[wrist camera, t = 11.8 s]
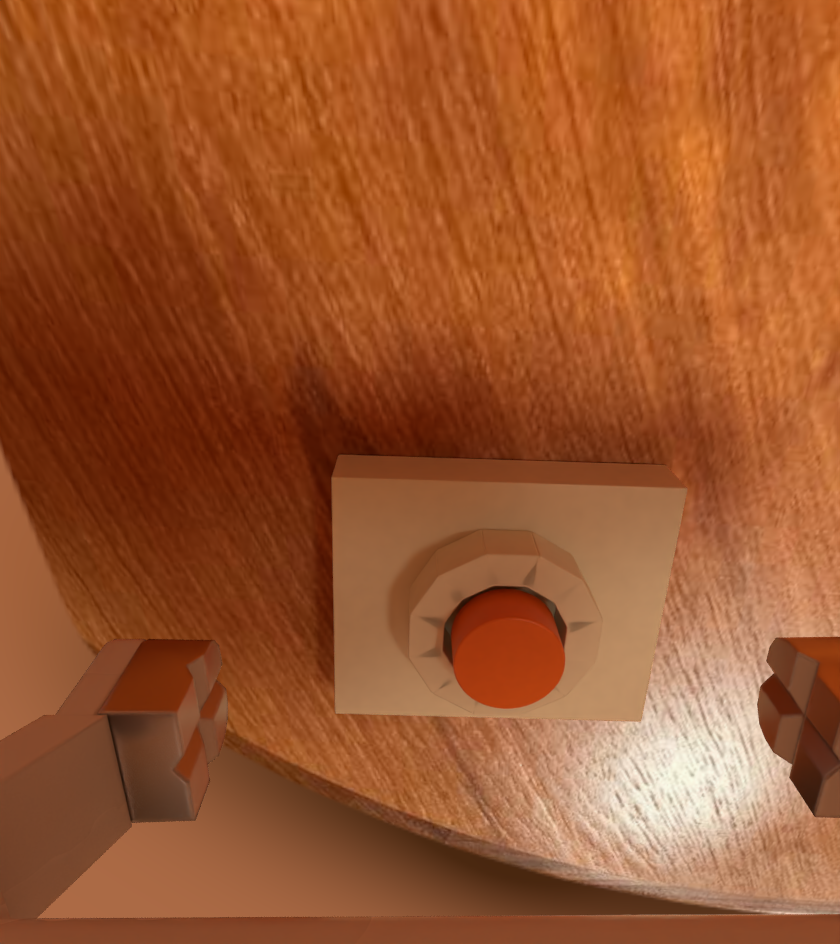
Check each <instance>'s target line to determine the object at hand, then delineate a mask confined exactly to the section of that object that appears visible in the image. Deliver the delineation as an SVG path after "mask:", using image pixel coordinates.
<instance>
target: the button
mask: <svg viewBox="0 0 840 944" xmlns="http://www.w3.org/2000/svg"><path fill="white" fill-rule="evenodd" d="M451 644H452V658H453V670H454V675H455V677H456V680H457V682H458V684H459V685H460V687H461V688H462V690H463V691H464V692H465V693H466V694H467V695H468V696H470V697H471V698H472V699H474V700H475V701H477V702H479V703H481V704H483V705H486V706H490V707H494V708H501V709H513V708H520V707H524V706H527V705H530V704H533V703H535V702H537V701H539V700H541V699H542V698H544V697H545V696H547V695H548V694H549V693H550V692H551V691H552V690H553V689H554V688H555V687H556V685H557V684H558V683H559V681H560V679H561V677H562V674H563V672H564V668H565V652H564V648H563V645H562V642H561V639H560V635H559V632H558V629H557V626H556V623H555V620H554V617H553V615H552V613H551V611H550V610H549V608H548V607H547V606H546V605H545V604H544V603H543V602H542V601H541V600H540V599H538V598H537V597H535V596H533V595H531V594H529V593H527V592H524V591H521V590H516V589H496V590H491V591H487V592H484V593H482V594H480V595H478V596H476V597H474V598H472V599H471V600H470V601H468V602H467V603H466V604H465V605H464V606H463V607H462V608H461V609H460V611H459V612H458V614H457V615H456V617H455V619H454V621H453V625H452V629H451Z"/></svg>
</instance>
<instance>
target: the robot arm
mask: <svg viewBox="0 0 840 944" xmlns="http://www.w3.org/2000/svg"><path fill="white" fill-rule="evenodd" d="M766 661H767V663H768V664H769V666H770V668H771V669H772V671H773V672H774V674H773V675H772V676H771V677H770V678H768V679H767V680H766V681H765V682H764V683H763V684H762V685H761V687H760V692H759V698H758V703H757V707H758V715H759V724H760V727H761V729H762V732H763V735H764V737H765V739H766V741H767V743H768V744H769V746H770V748H771V749H772V751H773V752H774V753H775V754H777V755H778V756H780V757H781V758H783V759H784V760H786V761H788V762H789V763H791V764H792V769H791V773H790V777H789V778H790V779H791V781H792V782H793V784H794V785H795V787H796V788H797V790H798V791H799V793H800V795H801V796H802V798H803V799H804V801H805V802H806V804H807V805H808V807H809V808H810V810H811V812H812V813H813V815H814V816H815V817H829V818H840V637H790V638H775V640H774V641H773V643H772V644H771V646H770V648H769V652H768V656H767V660H766ZM221 666H222V659H221V654H220V648H219V645H218V644H217V642H216V641H215V640H178V639H148V640H145V639H114V640H111V641H109V642H107V643H106V644H105V645H104V647H103V648H102V649H101V651H100V652H99V654H98V655H97V656H96V658H95V659H94V661H93V662H92V664H91V665H90V666H89V668H88V669H87V671H86V672H85V674H84V675H83V676H82V678H81V679H80V681H79V682H78V683H77V685H76V686H75V688H74V689H73V690H72V692H71V693H70V695H69V696H68V697H67V699H66V700H65V702H64V703H63V705H62V706H61V707H60V709H59V710H58V712H57V713H56V714H55V715H44V716H42V717H40V718H38V719H37V720H35V721H33V722H31V723H30V724H28V725H26V726H25V727H23V728H21V729H19V730H18V731H16V732H14V733H12V734H11V735H9V736H7V737H6V738H4V739H2V740H1V741H0V944H840V914H780V915H584V916H583V915H572V916H571V915H569V916H417V917H416V916H406V917H405V916H403V917H236V918H235V917H232V918H231V917H230V918H229V917H222V918H221V917H220V918H50V919H49V918H42V919H41V918H39V919H37V917H38V916H39V915H40V914H42V913H43V912H44V911H45V910H46V909H47V908H48V907H49V906H50V905H51V904H52V903H53V902H54V901H55V900H56V899H57V898H58V897H59V896H60V895H61V894H62V893H63V892H64V891H65V890H66V889H67V888H68V887H69V886H70V885H72V884H73V883H74V882H75V881H76V880H77V879H78V878H79V877H80V876H81V875H82V874H83V873H84V872H85V871H86V870H87V869H88V868H89V867H90V866H91V865H92V864H93V863H94V862H95V861H96V860H97V859H98V858H100V857H101V856H102V855H103V853H105V852H106V850H108V849H109V848H110V847H111V846H112V845H113V844H114V843H115V842H116V841H117V840H118V839H119V838H120V837H121V836H122V835H123V834H124V833H125V832H127V830H128V829H130V828H131V826H132V824H131V823H135V822H136V823H137V822H165V821H195V820H196V817H197V815H198V812H199V810H200V807H201V804H202V801H203V799H204V796H205V793H206V790H207V787H208V785H209V782H210V777H209V770H208V764H209V763H210V762H211V761H213V760H214V759H215V758H216V757H218V756H219V754H220V751H221V748H222V745H223V742H224V739H225V733H226V726H227V720H228V702H227V694H226V688H225V687H224V686H223V685H222V684H221V683H220V682H219V681H218V680H217V679H216V678H217V676H218V673H219V671H220V669H221Z"/></svg>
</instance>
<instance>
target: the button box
mask: <svg viewBox="0 0 840 944" xmlns="http://www.w3.org/2000/svg"><path fill="white" fill-rule="evenodd" d="M331 491H332V555H333V618H334V681H335V713H336V714H373V715H411V716H449V717H487V718H526V719H564V720H602V721H641V719H642V714H643V709H644V704H645V699H646V694H647V689H648V684H649V679H650V674H651V669H652V664H653V659H654V654H655V649H656V644H657V639H658V634H659V629H660V624H661V619H662V614H663V609H664V604H665V599H666V594H667V589H668V584H669V579H670V574H671V569H672V564H673V559H674V554H675V549H676V544H677V539H678V534H679V529H680V524H681V519H682V514H683V509H684V504H685V499H686V494H687V487H686V486H685V485H684V484H683V483H682V482H681V481H680V480H679V479H678V478H677V476H676V475H675V474H674V473H673V472H672V471H671V470H670V469H669V468H668V467H667V466H666V465H654V464H622V463H591V462H560V461H528V460H497V459H465V458H434V457H403V456H371V455H338V458H337V461H336V464H335V468H334V471H333V474H332V477H331ZM496 589H516V590H521V591H524V592H527V593H529V594H531V595H533V596H535V597H537V598H538V599H540V600H541V601H542V602H543V603H544V604H545V605H546V606H547V607H548V608H549V610H550V611H551V613H552V615H553V617H554V620H555V623H556V626H557V629H558V632H559V635H560V639H561V642H562V645H563V648H564V652H565V668H564V672H563V674H562V677H561V679H560V681H559V683H558V684H557V685H556V687H555V688H554V689H553V690H552V691H551V692H550V693H549V694H548V695H547V696H545V697H544V698H542V699H541V700H539V701H537V702H535V703H533V704H530V705H527V706H524V707H520V708H513V709H501V708H494V707H490V706H486V705H483V704H481V703H479V702H477V701H475V700H474V699H472V698H471V697H470V696H468V695H467V694H466V693H465V692H464V691H463V690H462V688H461V687H460V685H459V684H458V682H457V680H456V677H455V675H454V670H453V658H452V644H451V629H452V625H453V621H454V619H455V617H456V615H457V614H458V612H459V611H460V609H461V608H462V607H463V606H464V605H465V604H466V603H467V602H468V601H470V600H471V599H472V598H474V597H476V596H478V595H480V594H482V593H484V592H487V591H491V590H496Z"/></svg>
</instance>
